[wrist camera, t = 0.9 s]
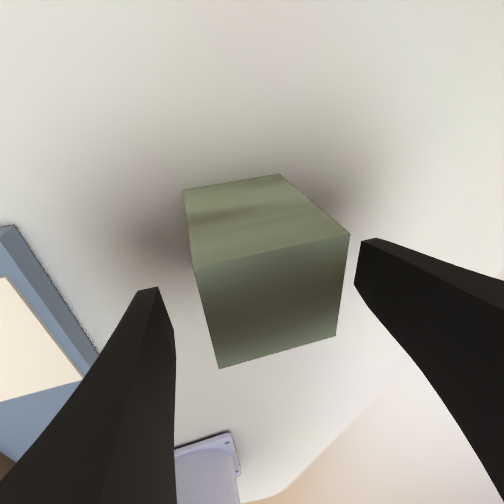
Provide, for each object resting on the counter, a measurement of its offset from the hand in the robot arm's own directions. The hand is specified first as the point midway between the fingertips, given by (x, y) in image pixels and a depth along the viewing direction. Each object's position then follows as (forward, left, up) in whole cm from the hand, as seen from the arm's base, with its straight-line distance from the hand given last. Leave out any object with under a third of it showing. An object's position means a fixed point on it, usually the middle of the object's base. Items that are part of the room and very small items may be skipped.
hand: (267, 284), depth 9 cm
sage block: (0, 0, -5) cm, 5 cm away
